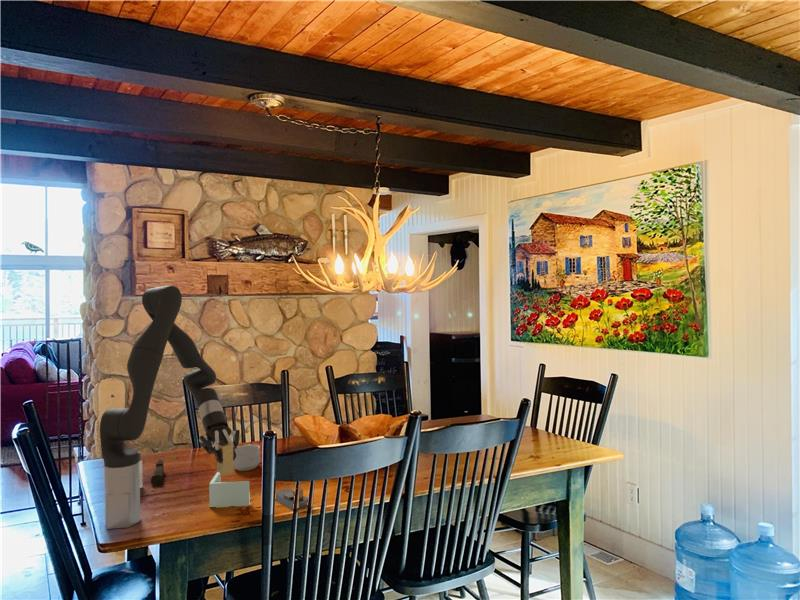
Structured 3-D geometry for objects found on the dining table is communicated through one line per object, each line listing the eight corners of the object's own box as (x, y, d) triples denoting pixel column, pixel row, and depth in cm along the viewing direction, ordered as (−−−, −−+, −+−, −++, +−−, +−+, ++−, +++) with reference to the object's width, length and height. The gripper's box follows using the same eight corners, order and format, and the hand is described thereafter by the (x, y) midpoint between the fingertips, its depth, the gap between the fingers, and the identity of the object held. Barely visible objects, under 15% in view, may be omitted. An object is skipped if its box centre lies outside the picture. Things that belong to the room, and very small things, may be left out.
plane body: (271, 498, 187) (271, 482, 186) (288, 493, 190) (288, 478, 190) (292, 510, 176) (292, 493, 176) (309, 505, 179) (309, 489, 179)
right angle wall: (249, 505, 180) (248, 481, 180) (209, 507, 179) (209, 483, 179) (254, 492, 192) (254, 470, 192) (217, 494, 191) (217, 472, 191)
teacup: (253, 473, 213) (253, 452, 213) (226, 472, 215) (225, 451, 215) (268, 462, 227) (267, 442, 227) (242, 462, 229) (241, 441, 229)
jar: (144, 483, 204) (144, 449, 204) (140, 491, 196) (139, 455, 196) (117, 486, 201) (116, 451, 201) (111, 493, 193) (110, 458, 193)
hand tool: (163, 485, 202) (163, 472, 202) (150, 486, 201) (150, 473, 201) (168, 470, 220) (168, 458, 220) (157, 471, 219) (157, 459, 219)
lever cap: (217, 471, 187) (216, 443, 187) (227, 468, 189) (227, 441, 189) (223, 474, 183) (222, 446, 183) (233, 472, 185) (233, 444, 185)
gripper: (194, 413, 187) (208, 458, 178) (236, 407, 196) (251, 450, 187) (189, 426, 191) (202, 471, 182) (230, 420, 200) (245, 463, 191)
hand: (227, 460), depth 184 cm, fingers closed on lever cap, 3 cm apart
